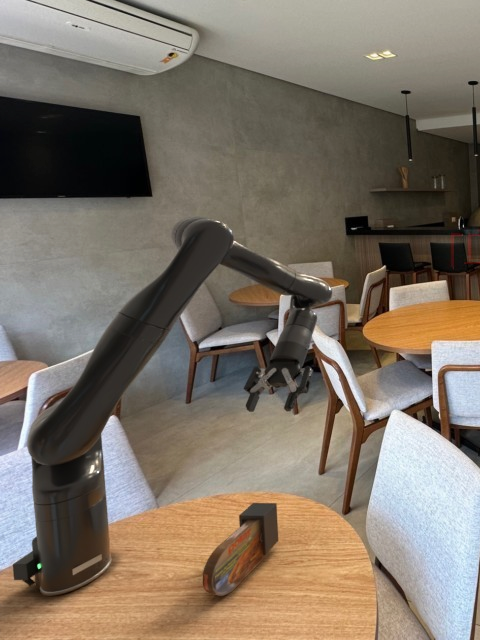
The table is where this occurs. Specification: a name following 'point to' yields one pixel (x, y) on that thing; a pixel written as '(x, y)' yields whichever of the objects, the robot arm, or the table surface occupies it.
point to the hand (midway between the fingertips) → (268, 410)
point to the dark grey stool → (263, 522)
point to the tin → (234, 559)
